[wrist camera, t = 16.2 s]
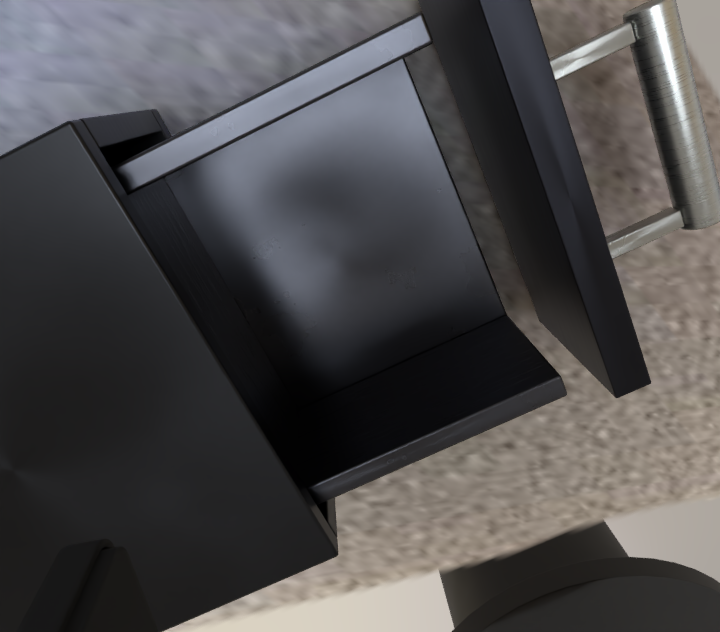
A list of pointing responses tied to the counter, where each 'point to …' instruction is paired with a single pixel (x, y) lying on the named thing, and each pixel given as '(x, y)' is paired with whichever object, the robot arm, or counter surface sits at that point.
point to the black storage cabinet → (127, 398)
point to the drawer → (414, 234)
